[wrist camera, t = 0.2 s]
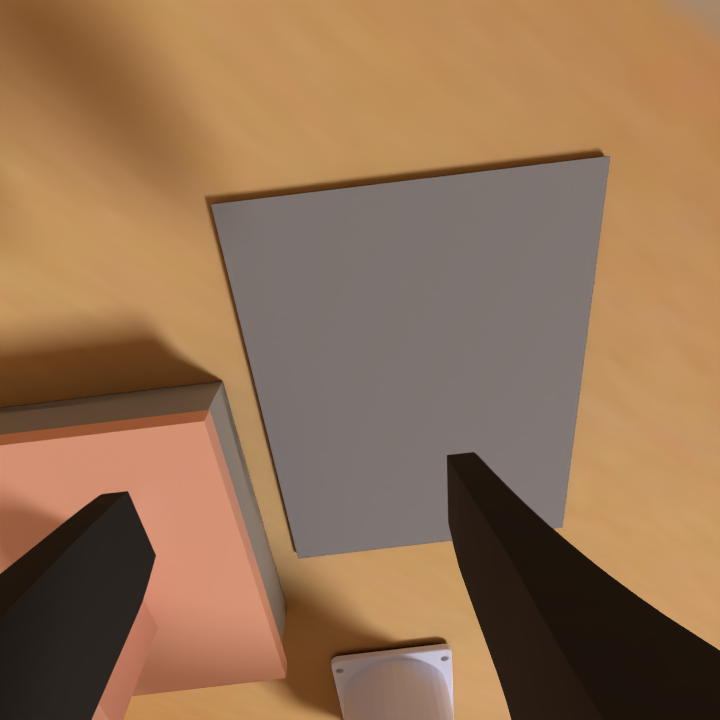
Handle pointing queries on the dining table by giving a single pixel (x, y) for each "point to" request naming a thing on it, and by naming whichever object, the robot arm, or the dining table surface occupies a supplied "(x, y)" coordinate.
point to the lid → (154, 546)
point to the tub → (158, 405)
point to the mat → (416, 341)
